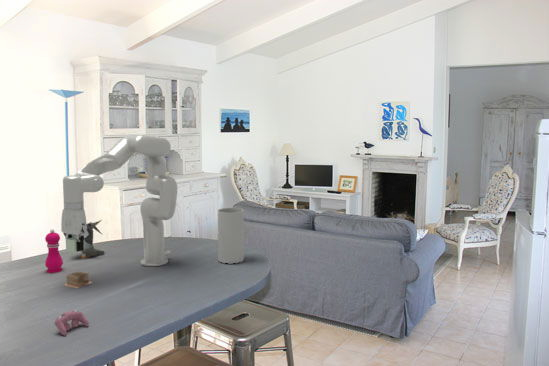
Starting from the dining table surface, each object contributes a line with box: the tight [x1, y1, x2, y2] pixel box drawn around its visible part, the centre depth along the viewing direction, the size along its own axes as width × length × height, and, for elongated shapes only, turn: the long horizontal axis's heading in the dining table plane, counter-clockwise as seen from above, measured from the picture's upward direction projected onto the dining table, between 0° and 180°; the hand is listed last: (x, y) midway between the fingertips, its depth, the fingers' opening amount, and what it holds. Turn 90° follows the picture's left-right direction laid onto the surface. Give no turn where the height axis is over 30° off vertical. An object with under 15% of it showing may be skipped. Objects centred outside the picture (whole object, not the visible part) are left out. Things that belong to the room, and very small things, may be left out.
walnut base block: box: [66, 270, 90, 287], centre depth 208 cm, size 6×6×4 cm
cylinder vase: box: [217, 207, 245, 265], centre depth 243 cm, size 12×12×25 cm
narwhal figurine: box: [73, 219, 105, 260], centre depth 248 cm, size 14×15×18 cm
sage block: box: [65, 236, 85, 253], centre depth 205 cm, size 5×5×5 cm
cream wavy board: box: [63, 281, 93, 289], centre depth 213 cm, size 17×15×1 cm
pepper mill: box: [44, 229, 64, 274], centre depth 223 cm, size 7×7×20 cm
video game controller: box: [54, 309, 90, 336], centre depth 167 cm, size 10×5×7 cm, turn 146°
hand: (75, 249), depth 205 cm, fingers closed on sage block, 5 cm apart
